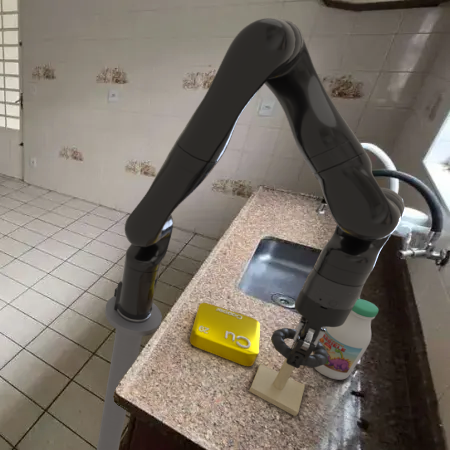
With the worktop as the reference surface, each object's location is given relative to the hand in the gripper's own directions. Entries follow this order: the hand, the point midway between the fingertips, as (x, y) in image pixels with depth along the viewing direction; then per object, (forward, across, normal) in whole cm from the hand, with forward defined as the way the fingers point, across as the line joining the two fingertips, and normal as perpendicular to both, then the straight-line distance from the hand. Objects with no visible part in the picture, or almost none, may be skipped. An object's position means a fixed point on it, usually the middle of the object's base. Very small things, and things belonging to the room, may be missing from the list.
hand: (293, 360), depth 71 cm
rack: (+13, -4, 0) cm, 14 cm away
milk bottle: (+13, -20, +8) cm, 25 cm away
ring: (-1, -4, 0) cm, 4 cm away
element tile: (+13, -12, -14) cm, 23 cm away
